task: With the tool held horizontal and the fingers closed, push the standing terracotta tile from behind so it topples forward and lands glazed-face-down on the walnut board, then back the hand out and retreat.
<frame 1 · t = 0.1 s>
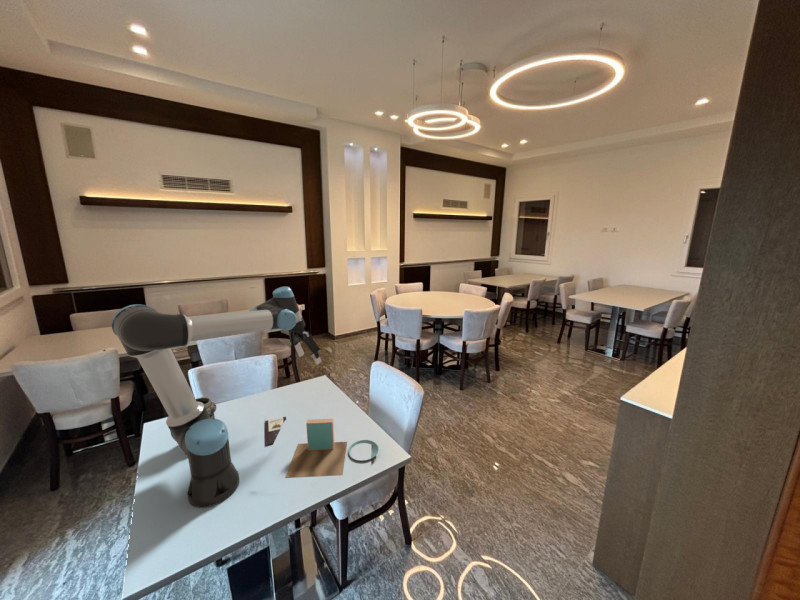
hand: (310, 359, 145), 28 cm above the table, tool tilted 20°, fingers open, 13 cm apart
apothecary jar: (204, 441, 130), on the table
board: (318, 461, 119), on the table
tile: (321, 447, 125), point 1 cm above the table, touching board
saucer: (363, 455, 123), on the table
chocolate bar: (276, 432, 137), on the table
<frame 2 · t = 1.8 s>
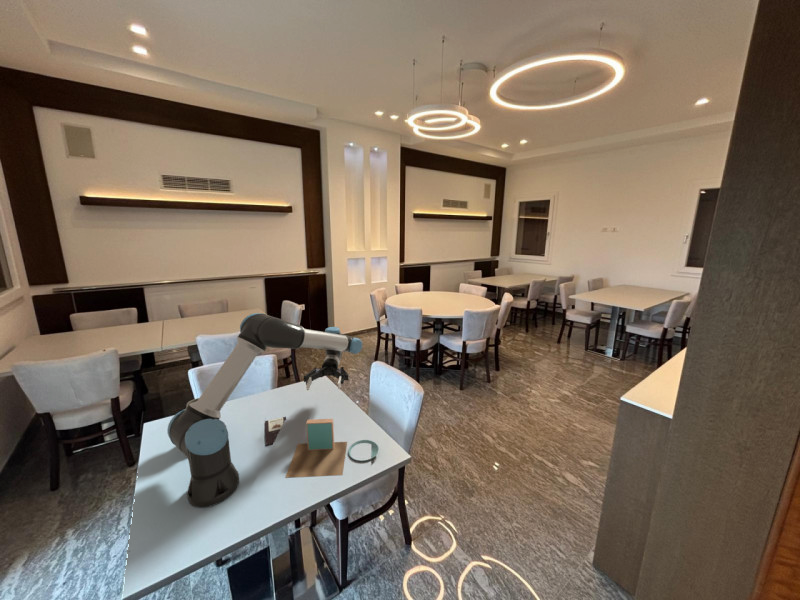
hand: (323, 386, 130), 22 cm above the table, tool horizontal, fingers open, 12 cm apart
nothing on the table moved.
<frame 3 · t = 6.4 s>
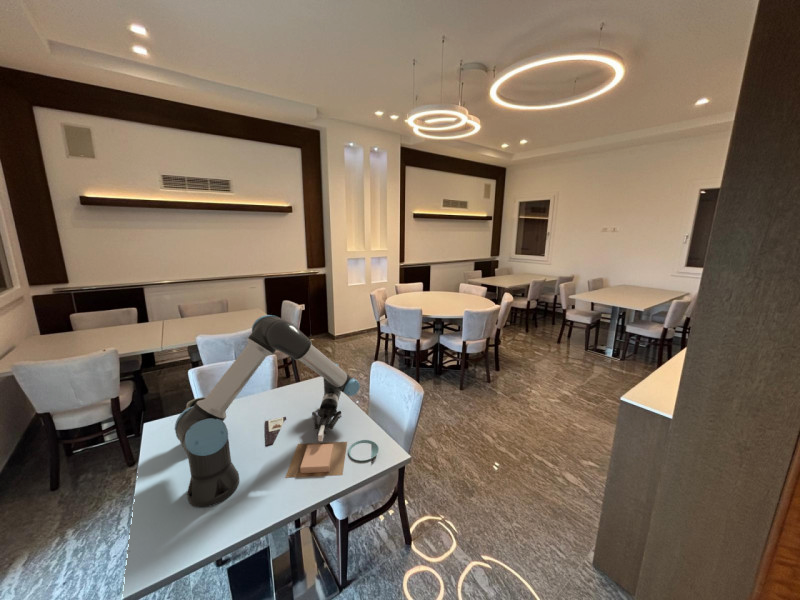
hand: (320, 438, 121), 7 cm above the table, tool horizontal, fingers closed
tile: (320, 447, 123), point 3 cm above the table, tilted 90°, touching board
everything else where it was.
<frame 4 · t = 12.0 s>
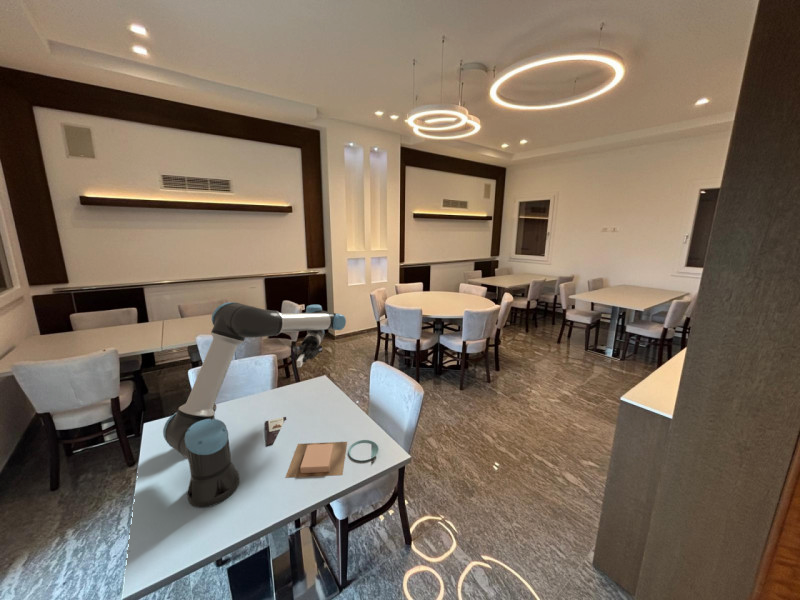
hand: (298, 364, 122), 35 cm above the table, tool horizontal, fingers closed
nothing on the table moved.
at the end: tile tilted 90°; tile inside the target area (4.6 cm from its centre), point 2.5 cm above the table; tile touching board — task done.
